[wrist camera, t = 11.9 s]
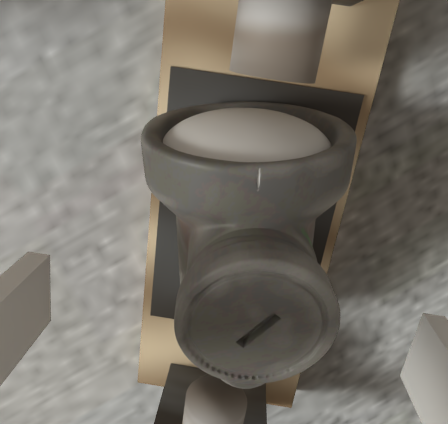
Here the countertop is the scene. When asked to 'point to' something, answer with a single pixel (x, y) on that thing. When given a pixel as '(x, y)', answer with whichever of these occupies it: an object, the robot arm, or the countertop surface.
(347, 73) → the shaft bed
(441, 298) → the countertop surface
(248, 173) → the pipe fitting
